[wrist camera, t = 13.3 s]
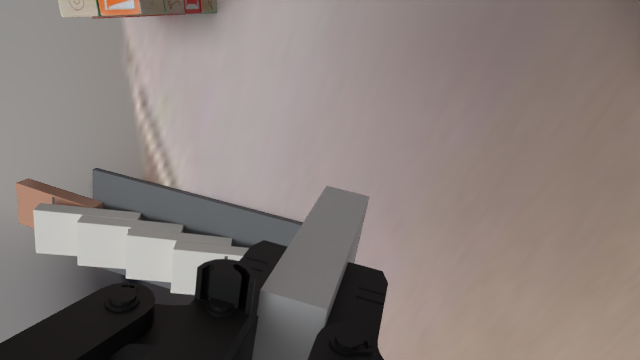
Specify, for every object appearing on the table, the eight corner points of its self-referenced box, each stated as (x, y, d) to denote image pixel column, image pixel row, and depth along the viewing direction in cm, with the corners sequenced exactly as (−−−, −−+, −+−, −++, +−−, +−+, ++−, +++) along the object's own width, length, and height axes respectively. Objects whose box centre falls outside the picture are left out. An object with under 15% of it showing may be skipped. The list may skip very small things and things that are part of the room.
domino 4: (230, 246, 47) (126, 235, 46) (226, 287, 49) (125, 278, 47) (232, 238, 48) (131, 227, 47) (227, 278, 50) (130, 269, 49)
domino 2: (137, 219, 48) (32, 210, 47) (136, 261, 50) (35, 252, 49) (141, 212, 50) (40, 202, 48) (140, 252, 52) (42, 244, 50)
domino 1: (92, 208, 49) (15, 183, 51) (92, 249, 51) (18, 223, 53) (103, 202, 51) (28, 178, 53) (103, 242, 52) (31, 217, 55)
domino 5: (277, 259, 46) (173, 249, 45) (271, 301, 48) (170, 292, 46) (277, 250, 48) (176, 240, 46) (271, 291, 49) (173, 283, 48)
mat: (310, 224, 46) (309, 227, 46) (292, 322, 51) (291, 325, 50) (96, 167, 50) (92, 169, 50) (97, 263, 55) (93, 265, 54)
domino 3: (181, 232, 48) (76, 222, 46) (178, 273, 50) (77, 265, 48) (183, 224, 49) (82, 214, 48) (180, 264, 51) (83, 256, 49)
